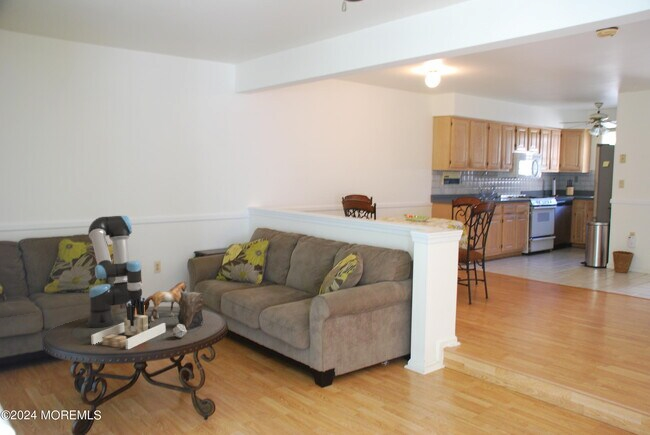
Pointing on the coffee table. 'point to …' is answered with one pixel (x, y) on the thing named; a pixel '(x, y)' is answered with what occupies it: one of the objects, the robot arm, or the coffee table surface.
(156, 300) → the horse figurine
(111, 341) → the offcut stack
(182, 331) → the game die
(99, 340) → the rack
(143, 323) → the beige stone slab
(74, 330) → the coffee table surface
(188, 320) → the brown rough tall block
